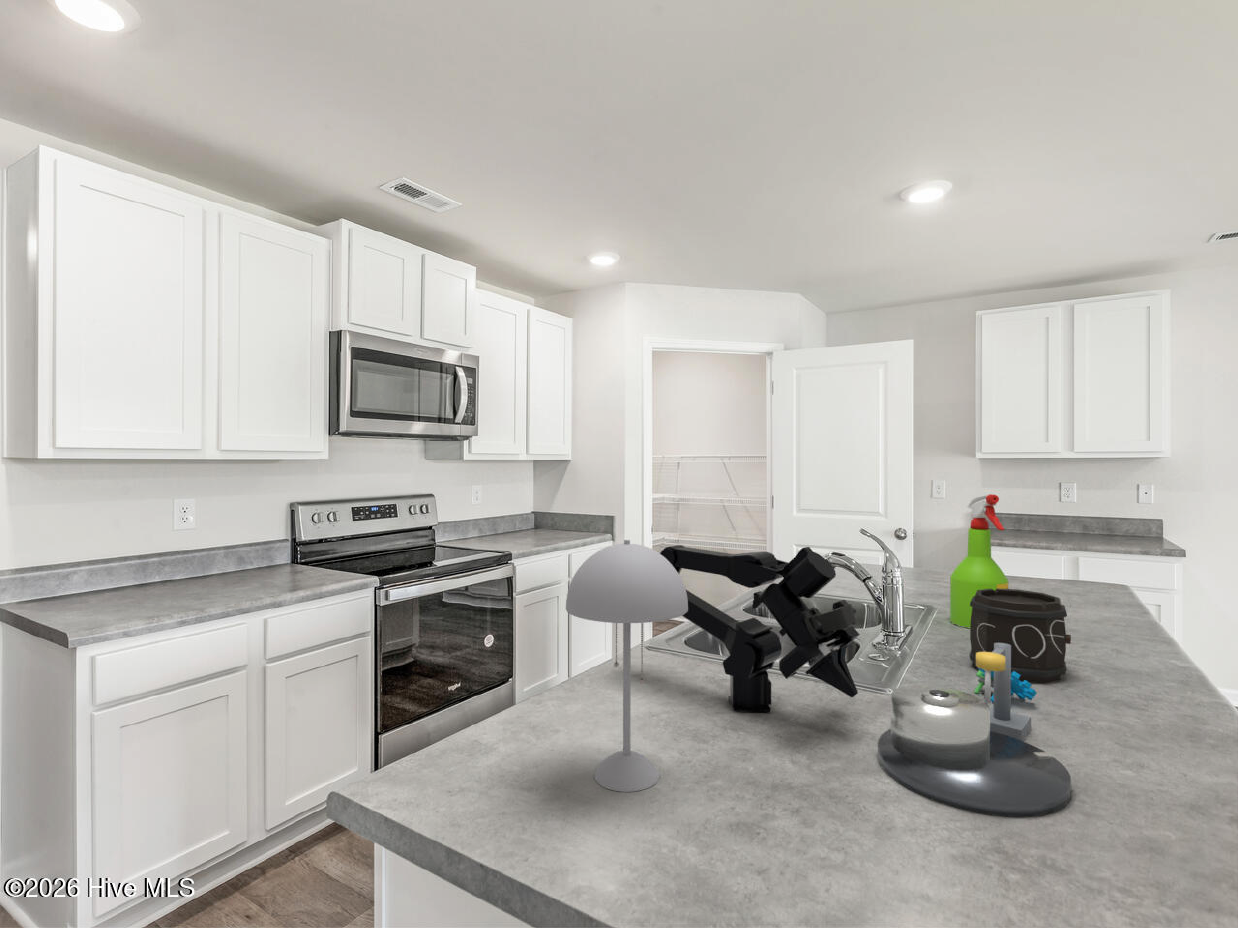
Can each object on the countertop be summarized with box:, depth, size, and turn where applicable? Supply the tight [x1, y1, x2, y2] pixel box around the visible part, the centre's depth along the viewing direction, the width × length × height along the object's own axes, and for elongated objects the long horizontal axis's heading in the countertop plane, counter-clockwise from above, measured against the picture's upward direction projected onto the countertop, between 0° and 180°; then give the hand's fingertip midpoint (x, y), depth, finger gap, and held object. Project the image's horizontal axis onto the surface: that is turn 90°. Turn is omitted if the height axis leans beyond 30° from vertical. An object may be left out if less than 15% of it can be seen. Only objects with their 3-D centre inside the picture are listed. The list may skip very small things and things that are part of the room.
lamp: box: [565, 539, 688, 793], centre depth 92 cm, size 17×17×33 cm
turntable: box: [877, 728, 1072, 818], centre depth 94 cm, size 24×24×2 cm
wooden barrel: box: [969, 588, 1072, 685], centre depth 138 cm, size 18×18×16 cm
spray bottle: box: [949, 493, 1009, 628], centre depth 174 cm, size 14×18×35 cm
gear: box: [973, 668, 1037, 703], centre depth 121 cm, size 11×6×10 cm
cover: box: [890, 684, 991, 769], centre depth 97 cm, size 13×13×8 cm
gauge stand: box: [976, 643, 1032, 742], centre depth 106 cm, size 13×7×14 cm, turn 137°
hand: (855, 695), depth 105 cm, fingers closed
